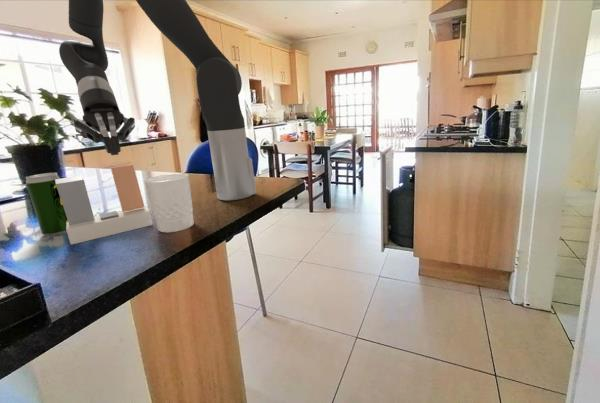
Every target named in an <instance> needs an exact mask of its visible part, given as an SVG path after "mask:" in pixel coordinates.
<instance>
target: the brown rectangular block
mask: <svg viewBox="0 0 600 403" xmlns="http://www.w3.org/2000/svg"><path fill="white" fill-rule="evenodd" d="M110 170H111V174H112V179H113V181H114V186H115V188H116V192H117V196H118V200H119V204H120V207H121V211H122V212H126V211H131V210H135V209H140V208H144V206H145V203H144V200H143V196H142V193H141V189H140V186H139V180H138V178H137V174H136V170H135V166H134V165H132V164H131V165H123V166H117V167H116V166H115V167H111V168H110Z"/></svg>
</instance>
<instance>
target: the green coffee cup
mask: <svg viewBox="0 0 600 403" xmlns="http://www.w3.org/2000/svg"><path fill="white" fill-rule="evenodd" d="M25 179H26V180H25V185H26V188H27V191H28V194H29V197H30V199H31V200H30V201H31V203H32V206H33V211H34V213H35V216H36V218H37V223H38V225H39V228H40V232H41V234H42V235H43V236H44V237H45V238H46V237H48V238H50V237H52V238H53V237H59V236H63V235H65V234H67V230H66V224H67V222H68V219H67V216H66V213H65V210H64V207H63V204H62V201H61V198H60V195H59V192H58V189H57V186H56V182H55V179H61V177H60V176H59V175H58V172H46V173H39V174H33V175H29V176H25Z"/></svg>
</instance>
